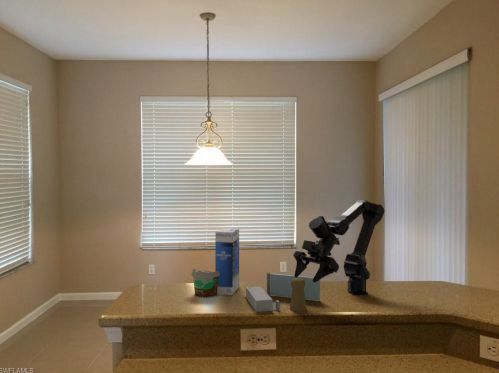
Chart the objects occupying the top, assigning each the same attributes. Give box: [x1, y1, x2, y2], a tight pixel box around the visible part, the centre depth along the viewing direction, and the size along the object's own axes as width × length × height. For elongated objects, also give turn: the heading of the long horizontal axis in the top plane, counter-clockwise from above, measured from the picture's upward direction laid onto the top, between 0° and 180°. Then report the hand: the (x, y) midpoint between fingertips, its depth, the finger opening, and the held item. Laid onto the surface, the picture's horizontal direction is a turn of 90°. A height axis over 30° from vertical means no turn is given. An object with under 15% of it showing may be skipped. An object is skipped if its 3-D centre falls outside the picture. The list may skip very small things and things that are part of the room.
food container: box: [191, 268, 220, 298], centre depth 156 cm, size 12×6×10 cm, turn 68°
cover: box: [270, 272, 321, 302], centre depth 152 cm, size 2×20×8 cm, turn 67°
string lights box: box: [214, 227, 240, 296], centre depth 163 cm, size 13×8×26 cm, turn 168°
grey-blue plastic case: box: [245, 272, 281, 313], centre depth 146 cm, size 10×20×9 cm, turn 12°
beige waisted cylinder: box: [289, 278, 307, 313], centre depth 139 cm, size 6×6×11 cm
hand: (304, 279), depth 140 cm, fingers open, 9 cm apart
